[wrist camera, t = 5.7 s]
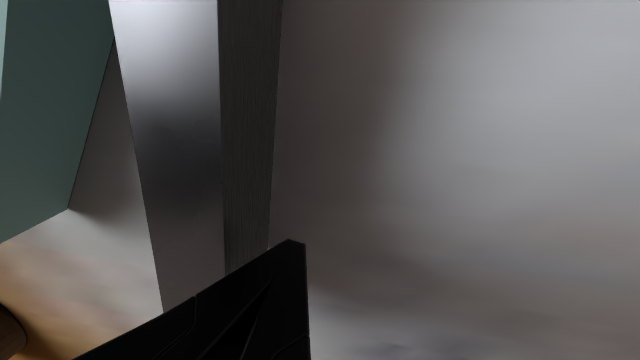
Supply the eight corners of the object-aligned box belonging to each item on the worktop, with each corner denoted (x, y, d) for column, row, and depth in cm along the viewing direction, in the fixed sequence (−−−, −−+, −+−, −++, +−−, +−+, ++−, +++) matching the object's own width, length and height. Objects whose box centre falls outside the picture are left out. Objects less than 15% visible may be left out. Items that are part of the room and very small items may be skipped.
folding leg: (197, -206, 6) (-133, -633, 2) (323, -202, 6) (187, -701, 2) (218, 268, 12) (139, 371, 9) (279, 285, 12) (226, 401, 8)
